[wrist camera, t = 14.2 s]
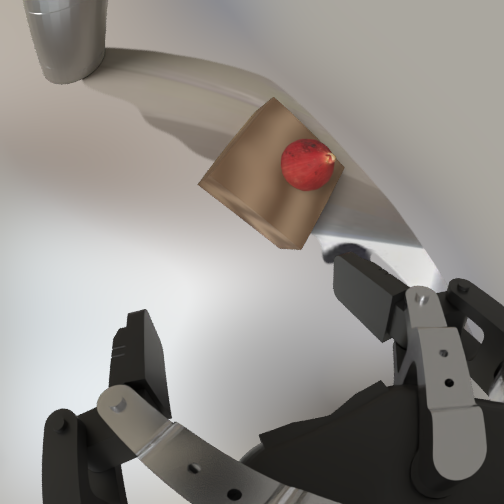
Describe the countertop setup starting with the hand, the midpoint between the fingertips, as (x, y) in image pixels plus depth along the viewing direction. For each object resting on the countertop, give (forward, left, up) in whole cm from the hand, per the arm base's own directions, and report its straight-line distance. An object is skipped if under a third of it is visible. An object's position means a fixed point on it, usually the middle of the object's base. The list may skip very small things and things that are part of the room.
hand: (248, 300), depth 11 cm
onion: (+5, +17, -18) cm, 25 cm away
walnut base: (+5, +17, -23) cm, 28 cm away
